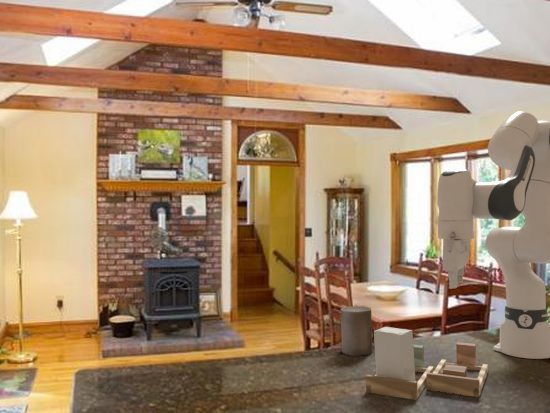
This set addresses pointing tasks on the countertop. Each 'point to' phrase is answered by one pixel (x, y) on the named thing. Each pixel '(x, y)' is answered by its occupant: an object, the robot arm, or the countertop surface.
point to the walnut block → (455, 370)
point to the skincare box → (394, 353)
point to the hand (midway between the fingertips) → (456, 285)
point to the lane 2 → (457, 383)
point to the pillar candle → (356, 330)
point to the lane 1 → (401, 380)
